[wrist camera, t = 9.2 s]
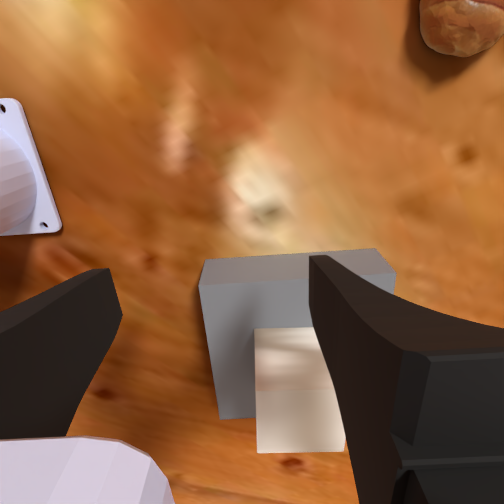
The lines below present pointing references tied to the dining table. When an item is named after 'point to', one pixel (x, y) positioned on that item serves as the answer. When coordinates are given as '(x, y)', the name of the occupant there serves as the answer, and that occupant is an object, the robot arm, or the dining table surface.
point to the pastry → (461, 25)
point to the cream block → (294, 394)
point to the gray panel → (263, 311)
